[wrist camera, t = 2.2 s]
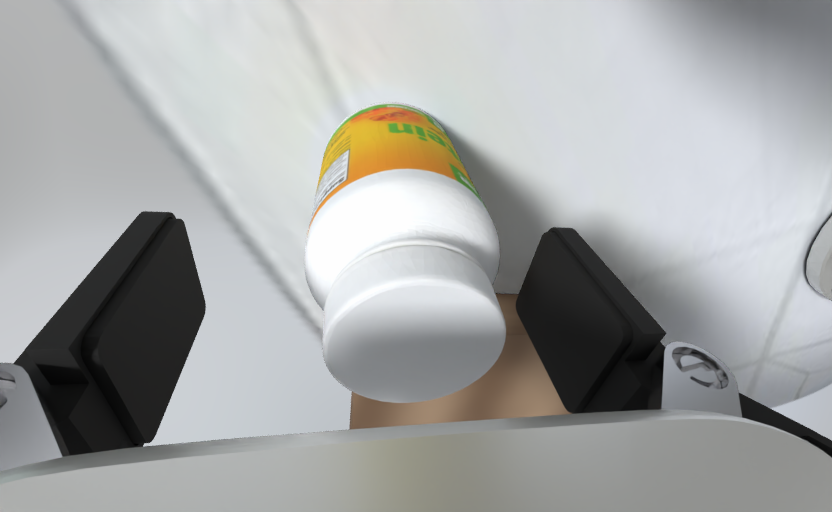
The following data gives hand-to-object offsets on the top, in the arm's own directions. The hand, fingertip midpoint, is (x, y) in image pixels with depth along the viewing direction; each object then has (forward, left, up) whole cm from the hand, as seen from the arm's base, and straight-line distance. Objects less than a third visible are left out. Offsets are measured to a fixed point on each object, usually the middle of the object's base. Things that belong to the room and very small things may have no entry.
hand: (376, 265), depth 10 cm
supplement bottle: (-1, 0, -7) cm, 7 cm away
